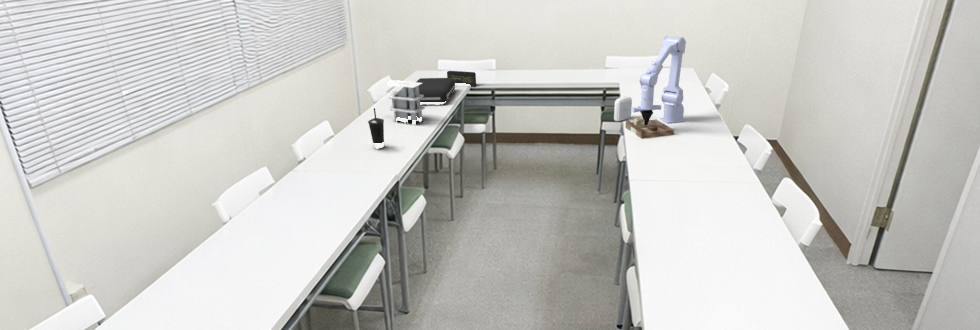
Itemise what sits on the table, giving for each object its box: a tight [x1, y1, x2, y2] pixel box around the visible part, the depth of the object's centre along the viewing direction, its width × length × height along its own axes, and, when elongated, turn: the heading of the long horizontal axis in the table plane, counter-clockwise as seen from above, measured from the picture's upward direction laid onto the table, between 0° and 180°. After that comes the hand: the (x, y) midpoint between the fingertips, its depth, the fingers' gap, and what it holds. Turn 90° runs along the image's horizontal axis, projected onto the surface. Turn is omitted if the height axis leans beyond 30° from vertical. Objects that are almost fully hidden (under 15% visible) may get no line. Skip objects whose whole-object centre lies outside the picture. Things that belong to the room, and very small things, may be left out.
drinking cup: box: [367, 107, 385, 144], centre depth 278 cm, size 8×8×20 cm
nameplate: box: [446, 70, 477, 88], centre depth 389 cm, size 21×2×10 cm, turn 65°
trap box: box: [625, 119, 675, 139], centre depth 286 cm, size 17×18×4 cm
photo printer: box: [613, 95, 633, 122], centre depth 304 cm, size 10×4×12 cm, turn 123°
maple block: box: [633, 117, 645, 128], centre depth 285 cm, size 4×4×4 cm
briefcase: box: [416, 77, 456, 102], centre depth 363 cm, size 36×32×10 cm
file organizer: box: [387, 79, 426, 120], centre depth 317 cm, size 26×35×22 cm
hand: (645, 124), depth 285 cm, fingers closed
